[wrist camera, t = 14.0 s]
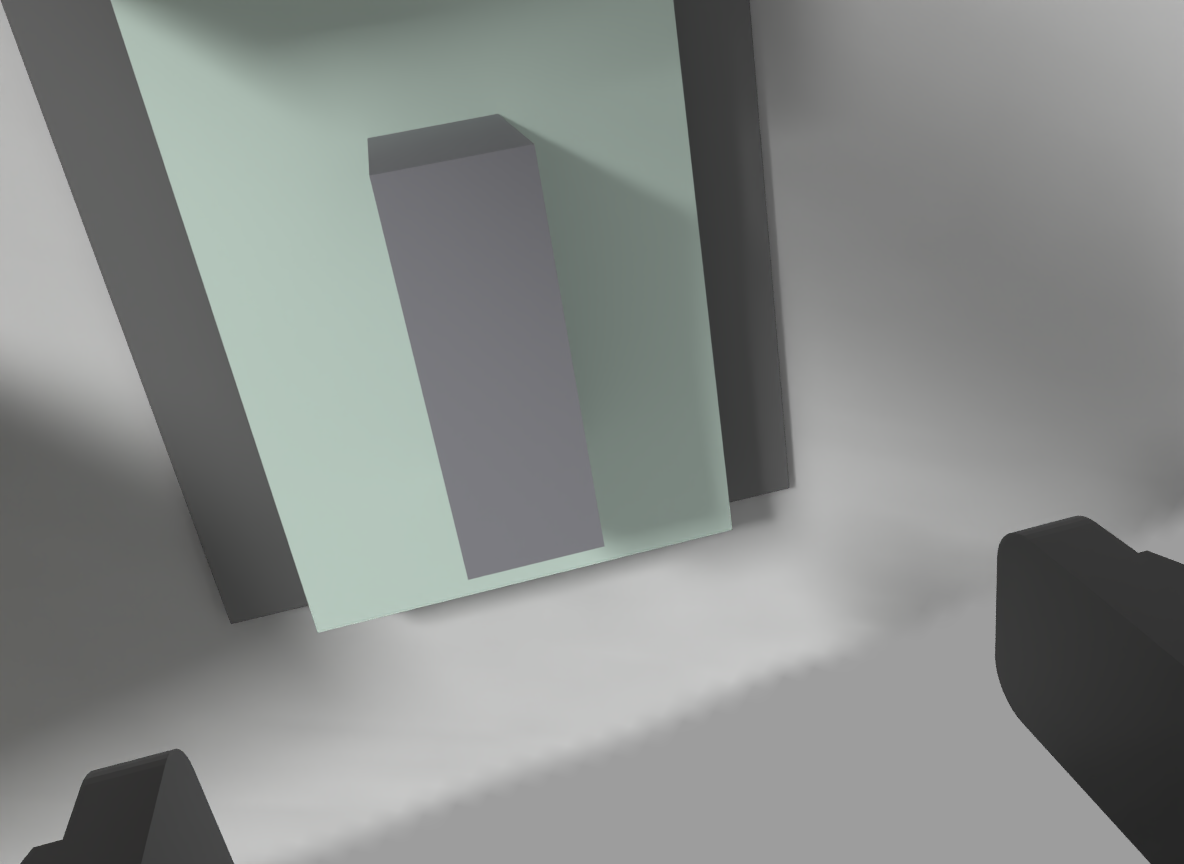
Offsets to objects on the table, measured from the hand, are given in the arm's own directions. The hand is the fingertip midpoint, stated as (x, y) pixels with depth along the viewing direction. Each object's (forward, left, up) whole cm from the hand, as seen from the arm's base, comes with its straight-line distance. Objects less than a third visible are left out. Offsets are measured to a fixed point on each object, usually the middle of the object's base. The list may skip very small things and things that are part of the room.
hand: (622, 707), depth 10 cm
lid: (0, 0, -17) cm, 17 cm away
